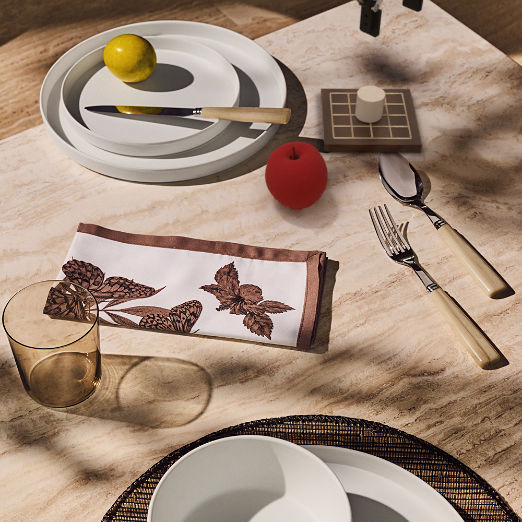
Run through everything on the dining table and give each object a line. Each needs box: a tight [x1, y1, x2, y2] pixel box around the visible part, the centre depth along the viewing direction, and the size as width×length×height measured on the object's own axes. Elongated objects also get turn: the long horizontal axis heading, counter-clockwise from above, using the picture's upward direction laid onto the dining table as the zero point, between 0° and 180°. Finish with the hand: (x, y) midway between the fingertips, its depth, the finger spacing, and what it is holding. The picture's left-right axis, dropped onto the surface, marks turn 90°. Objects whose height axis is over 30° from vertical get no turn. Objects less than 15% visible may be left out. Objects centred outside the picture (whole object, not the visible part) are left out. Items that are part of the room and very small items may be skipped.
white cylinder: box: [355, 85, 385, 123], centre depth 108 cm, size 4×4×4 cm
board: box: [320, 88, 423, 153], centre depth 110 cm, size 15×15×2 cm
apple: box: [264, 141, 329, 211], centre depth 96 cm, size 9×9×10 cm
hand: (390, 20), depth 98 cm, fingers open, 9 cm apart
